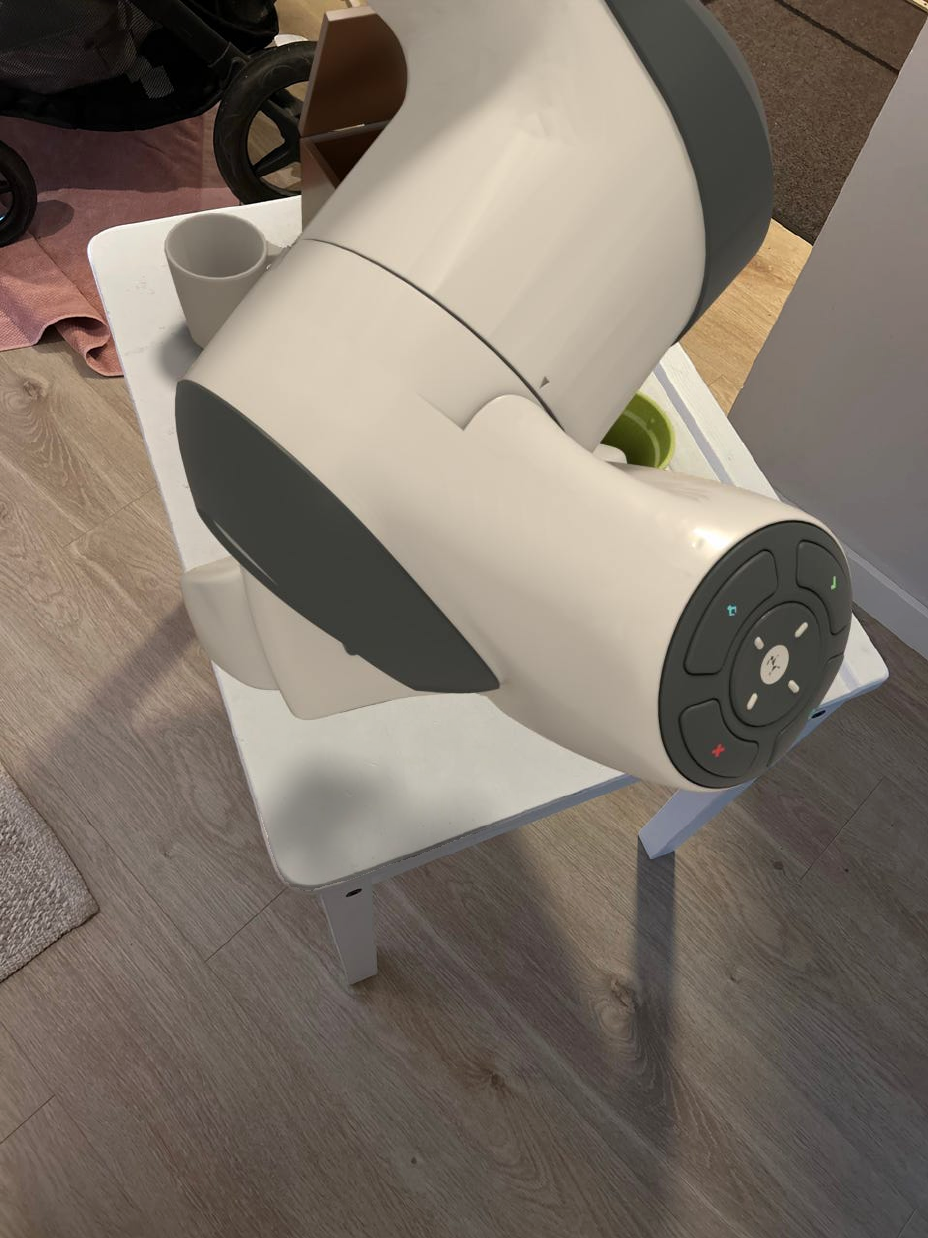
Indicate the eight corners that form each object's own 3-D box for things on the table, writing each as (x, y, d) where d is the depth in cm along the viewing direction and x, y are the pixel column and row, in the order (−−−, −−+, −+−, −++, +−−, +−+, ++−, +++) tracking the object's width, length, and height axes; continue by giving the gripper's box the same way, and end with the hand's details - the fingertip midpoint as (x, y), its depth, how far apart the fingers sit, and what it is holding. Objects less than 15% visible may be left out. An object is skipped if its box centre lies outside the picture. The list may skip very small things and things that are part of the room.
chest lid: (466, -1, 67) (440, -61, 68) (328, 21, 64) (302, -41, 64) (419, 112, 79) (398, 62, 79) (301, 137, 76) (278, 84, 76)
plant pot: (591, 575, 71) (623, 505, 64) (498, 500, 74) (517, 424, 66) (664, 507, 76) (701, 434, 68) (573, 438, 78) (599, 360, 71)
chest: (468, 307, 84) (486, 199, 75) (359, 338, 81) (364, 229, 71) (407, 224, 89) (417, 113, 80) (301, 251, 85) (299, 138, 76)
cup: (173, 302, 80) (158, 214, 73) (292, 293, 82) (290, 206, 75) (184, 369, 76) (169, 283, 69) (309, 357, 79) (307, 273, 72)
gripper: (678, 408, 39) (517, 406, 52) (201, 579, 32) (144, 530, 45) (704, 551, 42) (542, 517, 54) (260, 741, 34) (190, 652, 47)
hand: (359, 524), depth 49 cm, fingers closed on robot figurine, 7 cm apart
